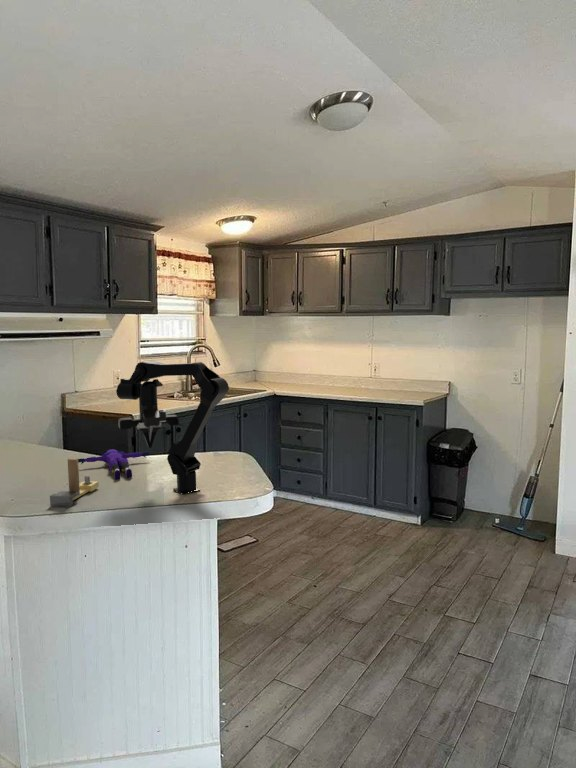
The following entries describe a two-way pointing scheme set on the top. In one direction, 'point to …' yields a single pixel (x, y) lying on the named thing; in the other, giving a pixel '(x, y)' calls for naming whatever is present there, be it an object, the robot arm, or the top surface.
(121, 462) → the toy
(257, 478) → the top surface
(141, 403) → the robot arm
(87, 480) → the peg
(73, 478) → the link
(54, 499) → the keeper
